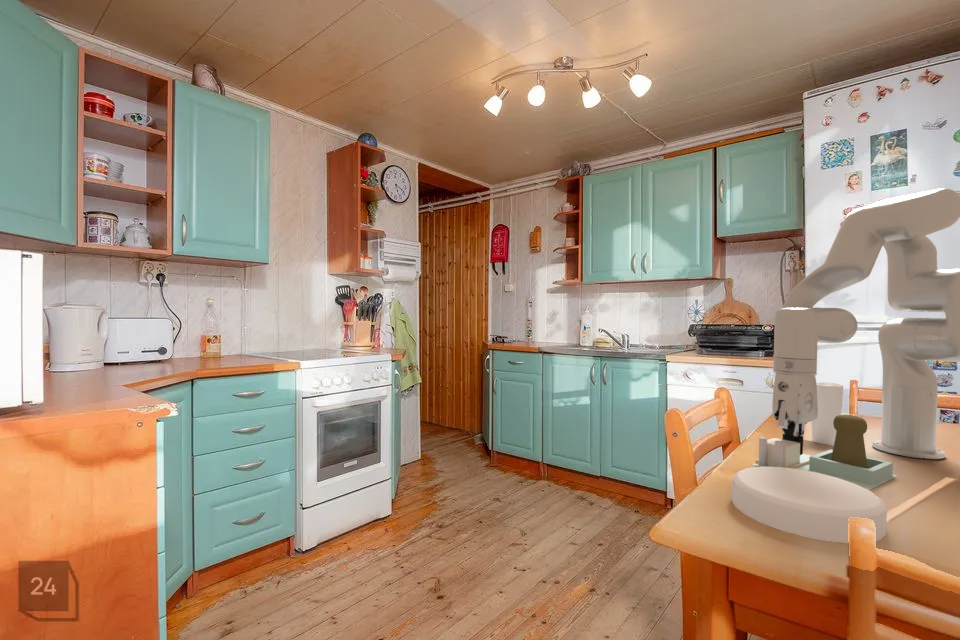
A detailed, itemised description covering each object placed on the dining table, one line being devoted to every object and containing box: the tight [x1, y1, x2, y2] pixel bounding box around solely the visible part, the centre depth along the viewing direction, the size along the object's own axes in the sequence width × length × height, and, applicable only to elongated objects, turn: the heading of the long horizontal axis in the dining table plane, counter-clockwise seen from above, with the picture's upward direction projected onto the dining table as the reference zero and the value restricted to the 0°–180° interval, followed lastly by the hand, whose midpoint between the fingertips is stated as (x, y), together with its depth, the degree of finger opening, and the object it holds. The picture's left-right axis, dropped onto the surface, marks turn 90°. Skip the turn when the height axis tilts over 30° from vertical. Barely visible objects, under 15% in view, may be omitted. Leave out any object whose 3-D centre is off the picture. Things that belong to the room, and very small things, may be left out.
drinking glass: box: [810, 381, 844, 447], centre depth 114 cm, size 7×7×15 cm
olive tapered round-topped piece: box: [831, 414, 868, 469], centre depth 90 cm, size 6×6×11 cm
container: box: [731, 466, 888, 544], centre depth 73 cm, size 20×20×5 cm
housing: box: [767, 437, 800, 468], centre depth 94 cm, size 6×5×4 cm
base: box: [751, 436, 898, 491], centre depth 91 cm, size 18×18×7 cm
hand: (792, 453), depth 97 cm, fingers closed
